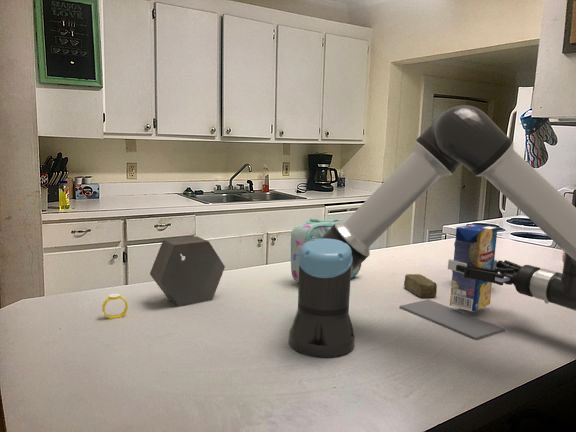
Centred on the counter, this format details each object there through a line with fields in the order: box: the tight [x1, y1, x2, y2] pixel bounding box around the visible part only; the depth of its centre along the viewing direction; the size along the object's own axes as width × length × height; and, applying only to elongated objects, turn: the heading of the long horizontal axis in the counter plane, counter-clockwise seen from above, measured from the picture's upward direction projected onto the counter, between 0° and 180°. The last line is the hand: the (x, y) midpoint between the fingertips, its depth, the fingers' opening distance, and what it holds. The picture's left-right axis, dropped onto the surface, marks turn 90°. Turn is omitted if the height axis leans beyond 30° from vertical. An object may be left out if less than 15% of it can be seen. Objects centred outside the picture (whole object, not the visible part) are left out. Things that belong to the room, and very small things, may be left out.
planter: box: [149, 235, 226, 307], centre depth 136 cm, size 17×8×21 cm
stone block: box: [403, 273, 438, 299], centre depth 151 cm, size 6×12×5 cm, turn 15°
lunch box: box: [290, 218, 362, 283], centre depth 159 cm, size 27×10×21 cm, turn 131°
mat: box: [399, 298, 506, 341], centre depth 130 cm, size 12×25×1 cm, turn 33°
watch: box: [102, 293, 129, 320], centre depth 122 cm, size 6×3×6 cm, turn 119°
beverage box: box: [449, 223, 498, 313], centre depth 134 cm, size 7×11×22 cm, turn 136°
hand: (462, 261), depth 137 cm, fingers closed on beverage box, 11 cm apart
